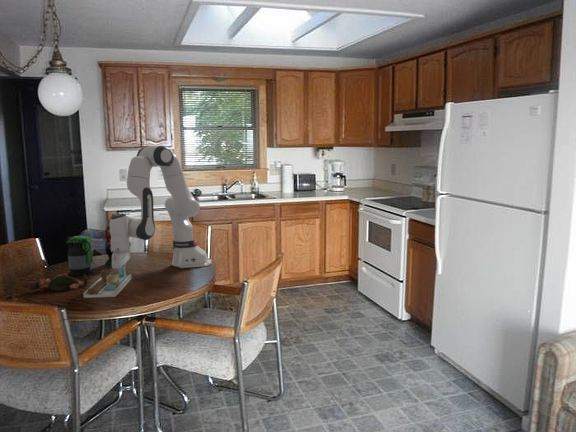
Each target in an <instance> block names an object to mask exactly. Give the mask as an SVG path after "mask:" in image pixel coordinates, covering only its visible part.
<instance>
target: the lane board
mask: <svg viewBox="0 0 576 432" xmlns="http://www.w3.org/2000/svg"><path fill="white" fill-rule="evenodd" d="M100 280H101V277H100V278H99V279H98V280H96V281H95V282H94V283H92V284H91V286H90V287H88V288H87V289H86V290H84V292H82V294H83V298H84V299H86V298H87V299H88V298H113V297H114V298H115V297H117V296H118V295H119V293H120V292H122V290H124V287H125V286H126V285H128V283H129V282H130V281H131V280H132V274H128V275H127V278H126V279H125V280H124V281H123V282H122V283H121V284H120V285H119V286H118V287H117V288H116V289H115V290H106V285H107V284H106V285H105V286H104V287H103V288H102V289H101V290H100V291H99V292H98V294H88V289H91V288H93V287H94V286H95V285H96V284H97V283H98V282H99V281H100Z"/></svg>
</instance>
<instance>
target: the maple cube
mask: <svg viewBox="0 0 576 432" xmlns="http://www.w3.org/2000/svg"><path fill="white" fill-rule="evenodd" d="M106 280H107V285H115V286H117V285H118V284H119V274H118V273H117V274H116V273H115V274H110V273H109V275H108V276H107V277H106Z"/></svg>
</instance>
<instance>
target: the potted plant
mask: <svg viewBox="0 0 576 432" xmlns="http://www.w3.org/2000/svg"><path fill="white" fill-rule="evenodd" d="M65 243H67V244H66V245H67V259H68V262H67V263H68V270H69V272H70V275H71V276H84V274H85V275H87V274H89V273H90V270H91V263H92V262H93V260H94V259H93V248H92V247H93V246H92V237H91V235H89V236H88V235H87V236H86V235H85V236H84V235H83V236H82V235H75V236H66V241H65Z"/></svg>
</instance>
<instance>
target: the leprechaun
mask: <svg viewBox="0 0 576 432" xmlns="http://www.w3.org/2000/svg"><path fill="white" fill-rule="evenodd" d="M82 286H84V287H86V286H88V277H87V274H84V275H83V280H79V279H77V278H76V277H72V274H68V273H66V272H64V273H61V274H60V273H59V274H57V275H56V276H53V277H52V278H49V277H48V278H39V279H38V281H37V280H36V281H29V282H28V288H29V291H34V290H38V289H39V290H40V291H43V290H45V289H47V288H48V289H49V290H52V291H56V292H64V291H69V290H71V289H78V288H79V287H82Z"/></svg>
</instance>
